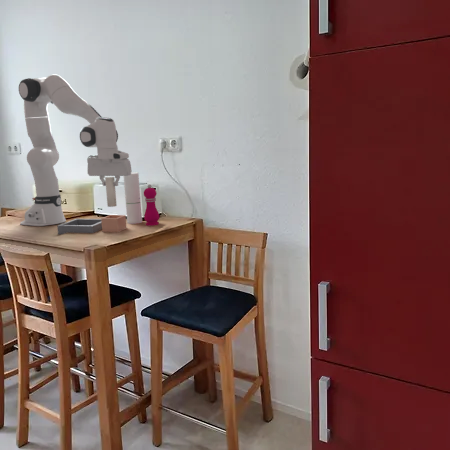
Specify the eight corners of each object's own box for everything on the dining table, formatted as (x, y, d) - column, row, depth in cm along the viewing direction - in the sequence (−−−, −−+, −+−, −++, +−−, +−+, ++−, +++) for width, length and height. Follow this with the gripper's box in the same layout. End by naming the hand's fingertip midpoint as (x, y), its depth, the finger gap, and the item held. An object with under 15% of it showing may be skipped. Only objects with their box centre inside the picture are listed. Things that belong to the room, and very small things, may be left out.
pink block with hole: (102, 233, 214) (101, 218, 213) (111, 229, 222) (109, 215, 220) (118, 234, 212) (117, 218, 211) (126, 230, 220) (125, 215, 218)
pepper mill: (153, 228, 221) (150, 185, 217) (141, 227, 225) (138, 185, 221) (163, 225, 227) (160, 183, 223) (151, 224, 231) (148, 183, 227)
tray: (58, 234, 217) (57, 225, 216) (77, 226, 232) (76, 218, 231) (93, 235, 212) (92, 226, 211) (110, 227, 227) (109, 219, 226)
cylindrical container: (143, 222, 236) (140, 172, 230) (140, 225, 229) (136, 173, 224) (129, 222, 236) (125, 172, 231) (125, 225, 229) (121, 174, 224)
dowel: (105, 206, 213) (103, 177, 210) (110, 205, 217) (107, 176, 214) (114, 206, 212) (111, 177, 209) (118, 205, 216) (115, 176, 213)
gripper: (83, 155, 209) (86, 186, 212) (125, 155, 204) (127, 186, 207) (90, 154, 215) (93, 184, 218) (131, 154, 210) (134, 185, 213)
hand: (110, 185), depth 213 cm, fingers closed on dowel, 4 cm apart
